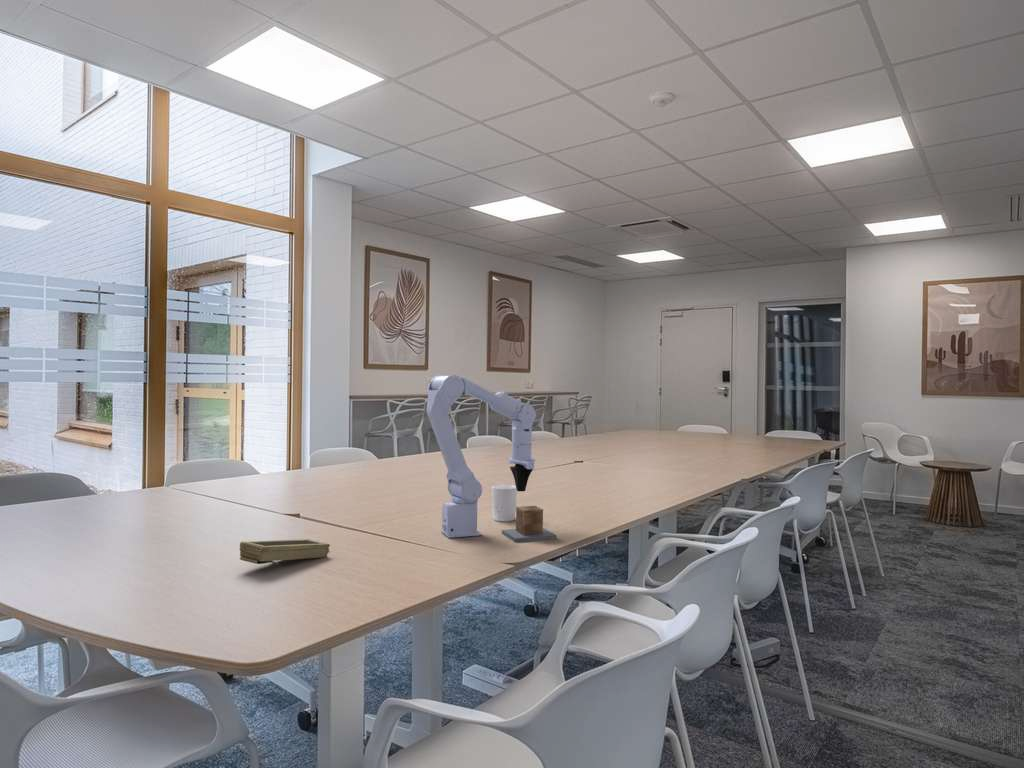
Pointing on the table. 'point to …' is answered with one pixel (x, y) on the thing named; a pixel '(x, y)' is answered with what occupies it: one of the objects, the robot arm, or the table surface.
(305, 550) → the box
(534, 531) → the sliding lid crate
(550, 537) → the post base
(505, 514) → the white cup
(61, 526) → the table surface
